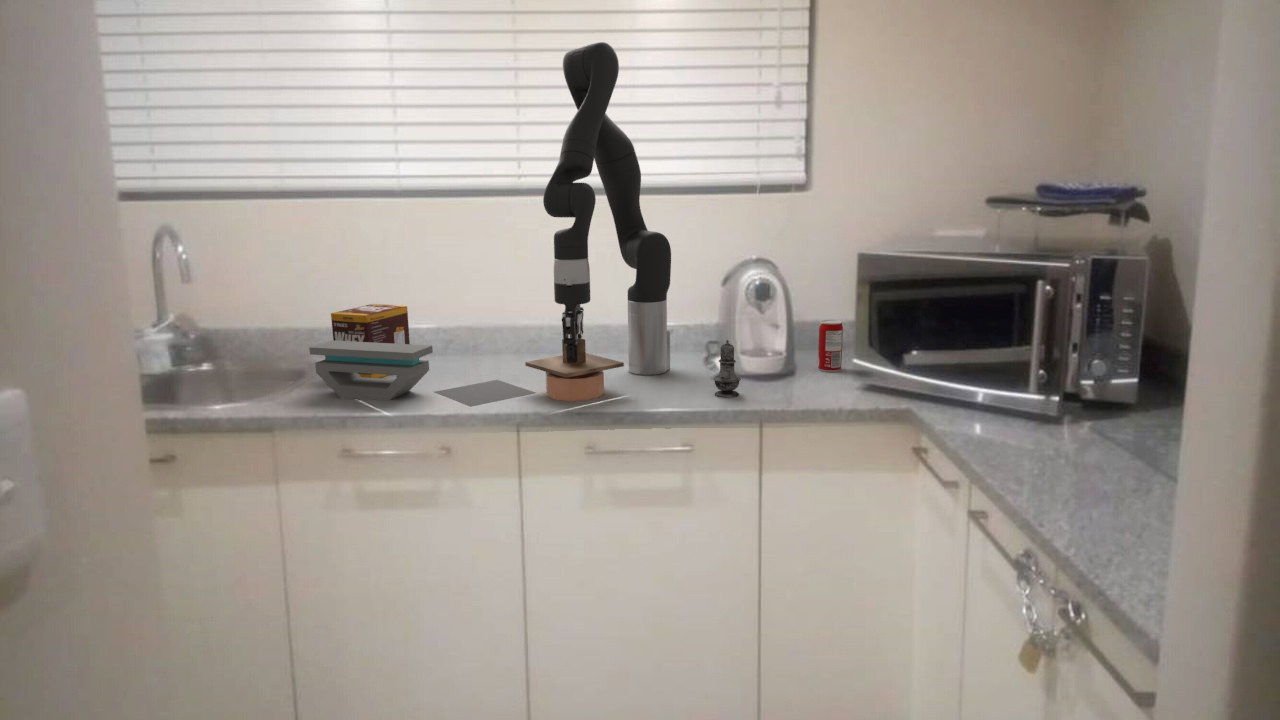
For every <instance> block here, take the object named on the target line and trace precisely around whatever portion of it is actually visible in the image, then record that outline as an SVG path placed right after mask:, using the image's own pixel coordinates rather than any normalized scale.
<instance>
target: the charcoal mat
mask: <svg viewBox="0 0 1280 720" xmlns="http://www.w3.org/2000/svg"><path fill="white" fill-rule="evenodd" d="M434 393H435V394H437V395H441V396H443V397H445V398H448V399H450V400H453V401H456V402H458V403H461V404H463V405H466V406H468V407H476V406H479V405H480V406H481V405H484V404H485V405H486V404H489V403H494V402H498V401H505V400H509V399H510V400H511V399H514V398H518V397H523V396H528V395H533V394H536V393H537V392H535V391H532V390H529V389H526V388H523V387H521V386H518V385H514V384H512V383H508V382H505V381H502V380H499V379H494V380H489V381H483V382H479V383H478V382H477V383H474V384H473V383H472V384H467V385H462V386H458V387H452V388H446V389H441V390H440V389H439V390H437V391H434Z"/></svg>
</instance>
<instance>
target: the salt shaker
mask: <svg viewBox="0 0 1280 720" xmlns="http://www.w3.org/2000/svg"><path fill="white" fill-rule="evenodd" d="M725 342H726V343H724V344H722V345H721V346H720V359H719V360H718V363H719V374H717V375H716V376H714V377H713V378H712V380H713V381H714V385H715V387H716V388H717V389H718V390H717V391H716V392H714V396H715V397H718V398H723V399H732V398H737V397H739V396H740V393H739V392H738V391H736V389H737V388H738V387H739V385H740V381H741V379H742V378H741V377H740V376H738V375H736V373H735V363H736V362H737V361H736V360H735V346H734V345H732V344H731V343H729V342H730V341H729V340H728V339H726V341H725Z"/></svg>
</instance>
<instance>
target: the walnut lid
mask: <svg viewBox="0 0 1280 720" xmlns="http://www.w3.org/2000/svg"><path fill="white" fill-rule="evenodd" d="M563 340H564V339H563V338H562V339H561V342H562V343H561V345H562V355H557V356H556V355H555V356H550V357H546V358H540V359H535V360H528V361H525V367H529V368H532V369H535V370H540V371H543V372H545V373H546V372H548V373H552V374H555V375H559V376H562V377H565V378H568V377H573V376H578V375H583V374H588V373H593V372H598V371H603V372H604V371H607V370H612V369H619V368H622V367H624V366H625V363H624V362H623V361H618V360H615V359H611V358H607V357H605V356H604V357H603V356H598V355H595V354H591V353H587V352H586V350H587V349H586V339H585V338H582V339H581V338H578V344H577V353H578V361H577V362H576V363H568V362H567V350H566V345H565V344H564V342H563Z"/></svg>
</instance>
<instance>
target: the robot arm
mask: <svg viewBox="0 0 1280 720" xmlns="http://www.w3.org/2000/svg"><path fill="white" fill-rule="evenodd" d="M562 59H563V60H562V72H563V77H564V79H565V82H566V86H567V88H568V91H569V93H570V95H571V97H572V100H573V102H574V105H575V107H576V109H577V111H576V113H575V114H574V116H573V118H572V119H571V121H570V122H569V124H568V125H567V128H566V130H565V132H564V134H563V138H562V142H561V150H560V154H559V160H558V163H557V165H556V166H555V168H554V171H553V173H552V175H551V177H550V179H549V181H548V183H547V185H546V187H545V189H544V193H543V198H542V199H543V207H544V210H545V211H546V213H547V214H548V215H549V216H551V217H553V218H574V222H573V225H572V226H570V227H569V228H563V229H559V230H557V231H556V232H555V233H554V235H553V253H554V255H553V257H554V261H553V262H554V263H553V290H554V302H555V303H556V304H558V305H564V307H565V308H564V312H562V314H561V315H562V317H561V322H562V323H561V324H562V326H561V327H562V335H563V338H562V339H564V340H563V342H564V344H565V345H566V350H567V362H568V363H576V362H577V361H578V353H577V344H578V338H581V339H583V334H584V314H585V313H584V311H585V310H584V306H581V305H585V304H588V303H590V302H591V273H590V271H591V270H590V269H591V268H590V263H589V233H590V228H591V223H592V219H593V215H594V211H595V206H596V194H595V191H594V189H593V187H592V186H591V184H589V183H587V182H577V181H579V180H582V179H585V178H587V177H589V176H590V175H591V174H592V170H593V167H594V163H595V166H596V168H597V173H598V175H599V178H600V180H601V184H602V186H603V189H604V192H605V195H606V200H607V202H608V205H609V208H610V211H611V214H612V218H613V222H614V226H615V232H616V236H617V237H616V238H617V241H618V246H619V251H620V253H621V257H622V259H623V261H624V262H625V264H626V265H627V266H628V267H630V268H632V269H634V270H636V272H635V273H636V274H635V282H634V284H633V285H631V286H629V287H628V289H627V340H628V341H627V342H628V343H627V344H628V345H627V346H628V347H627V348H628V352H627V354H628V372H630V373H631V374H635V375H643V376H644V375H645V376H648V375H649V376H650V375H652V376H653V375H661V374H664V373H666V372H667V371H670V370H671V332H670V330H668V321H667V320H668V317H667V316H668V307H667V306H668V303H667V302H668V299H667V298H668V291H669V289H670V285H671V272H672V250H671V244H670V242H669V239H668V238H667V236H665V234H663V233H661V232H658V231H652V230H651V231H650V230H648V228H647V225H646V223H645V219H644V217H643V214H642V210H641V204H640V195H641V187H642V185H641V184H642V172H641V167H640V163H639V160H638V157H637V153H636V150H635V147H634V144H633V142H632V140H631V139H630V137H629V136H628V135H627V134H626V133H625V132H624V131H623V130H622V129H621V128H620V127H619V126H618V125H617V124H616V123H615V122H614V121H613V120H612V119H611V118H610V116H608V114H607V113H606V112H607V110H608V107H609V105H610V101H611V99H612V95H613V93H614V89H615V87H616V84H617V80H618V78H619V71H620V64H619V63H620V62H619V59H618V55H617V53H616V51H615V49H614V48H613V47H612V45H610V43H608V42H605V41H599V42H595V43H590V44H587V45H583V46H581V47H577V48H574V49H572V50H569V51H567V52H566V53H565V54H564V55H563V58H562Z"/></svg>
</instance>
